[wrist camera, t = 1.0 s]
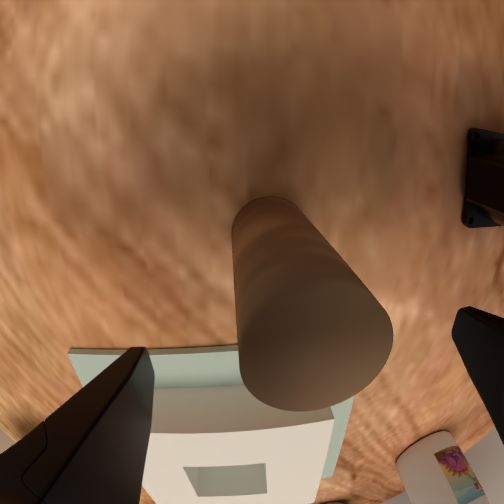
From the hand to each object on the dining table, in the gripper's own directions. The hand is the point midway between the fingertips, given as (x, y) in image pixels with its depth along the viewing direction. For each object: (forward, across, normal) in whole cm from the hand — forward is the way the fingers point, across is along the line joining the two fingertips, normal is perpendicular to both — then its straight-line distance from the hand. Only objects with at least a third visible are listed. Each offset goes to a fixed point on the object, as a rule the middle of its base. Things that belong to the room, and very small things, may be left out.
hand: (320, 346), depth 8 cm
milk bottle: (+10, -18, +28) cm, 35 cm away
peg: (+10, 0, 0) cm, 10 cm away
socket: (+10, +4, +17) cm, 20 cm away
